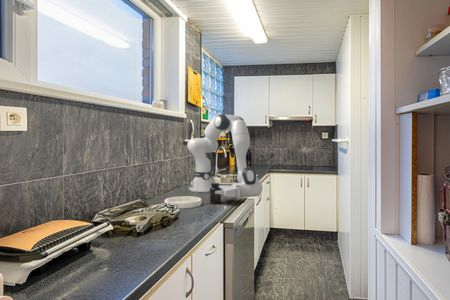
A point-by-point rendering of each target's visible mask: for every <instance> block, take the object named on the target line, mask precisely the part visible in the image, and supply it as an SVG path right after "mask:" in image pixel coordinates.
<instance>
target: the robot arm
mask: <svg viewBox="0 0 450 300" xmlns="http://www.w3.org/2000/svg"><path fill="white" fill-rule="evenodd" d="M223 131H224V132H231V138H232V143H233V148H234V153H235V162H236V164H237V167H236V168H237V169H236V170H237V172H236V175H235V180H236V181H235V182H232V184H231V185H226V184H225V185H221V184H220V185H219V188H221V191H218V190H217V191H215V194H221V195H223V196H224V197H228V198H235V199H240V198H244V197H248V198H252V197H254V198H255V197H259V196H260V195H261V194H262V192H263V183H262V182H261V181H260V180H259V178H258V176H257V173H256V170H255V169H254V168H253V167H251V166H247V165H248V164H247V153H248V150H249V148H250V145H251V142H250V141H251V139H250V133H249V129H248V126H247V124H246V122H245V120H244V118H242V117H241V116H238V115H237V116H236V115H233V114H224V113H220V112H219V113H217V114H216V115H214V116H213V118H212V119H211V120H210V122H209V123H208V124H207V126H206V127H205V128H204V137H195V138H191V139H189V140H188V141H187V147H186V148H187V149H188V151H189V152H190V153H191V154H192V156H193V158H194V163H195V172H194V177H193V179H192V180H191V182H190V187H188V190H189V191H190V192H192V193H193V192H194V193H196V192H197V193H199V192H200V193H201V192H203V193H206V192H210V188H211V183H214V179H213V177H212V170H211V167H212V166H211V165H212V164H211V163H212V162H211V160H210V159H209V158H208V157H207V155H206V153H207V154H208V153H213V152H216V151H217V150H218V148H219V143H218V139H219V137H220V136H221V134H222V133H223ZM236 182H237V183H236Z"/></svg>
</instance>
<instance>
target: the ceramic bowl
mask: <svg viewBox="0 0 450 300" xmlns="http://www.w3.org/2000/svg"><path fill="white" fill-rule="evenodd" d="M164 203H166V204H170V205H177V206H179V208H178V209H181V210H183V209H191V208H198V207H201V205H202V204H203V203H202V198H201V197H198V196H192V195H191V196H190V195H189V196H188V195H185V196H172V197H168V198H165V199H164Z"/></svg>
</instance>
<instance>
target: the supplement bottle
mask: <svg viewBox="0 0 450 300" xmlns="http://www.w3.org/2000/svg"><path fill="white" fill-rule="evenodd" d="M219 186H220V183H219V182H213V183H211V188H210V191H209V204H211V205H219V204H220V205H221V203H222V194H215V191H217V190H218V191H221V188H219Z"/></svg>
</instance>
